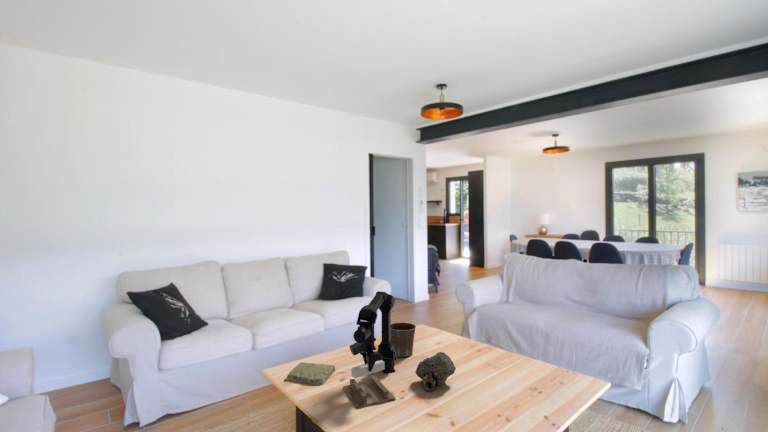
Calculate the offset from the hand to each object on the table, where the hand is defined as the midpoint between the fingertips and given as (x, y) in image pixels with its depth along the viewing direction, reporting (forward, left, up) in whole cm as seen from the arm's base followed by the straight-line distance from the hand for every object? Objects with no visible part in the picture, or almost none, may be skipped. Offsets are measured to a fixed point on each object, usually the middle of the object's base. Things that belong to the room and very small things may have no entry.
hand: (368, 369), depth 177 cm
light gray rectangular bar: (0, 0, -1) cm, 1 cm away
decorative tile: (+20, -30, -12) cm, 38 cm away
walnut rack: (0, 0, -11) cm, 11 cm away
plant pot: (-35, -38, -11) cm, 53 cm away
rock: (-31, +4, -11) cm, 33 cm away
